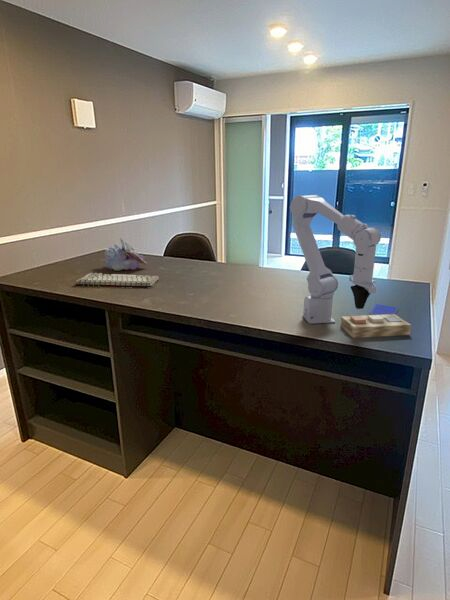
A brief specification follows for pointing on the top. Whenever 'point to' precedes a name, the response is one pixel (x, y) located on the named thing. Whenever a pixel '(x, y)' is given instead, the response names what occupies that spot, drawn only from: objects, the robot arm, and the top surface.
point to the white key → (375, 319)
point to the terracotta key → (358, 320)
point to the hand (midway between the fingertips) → (359, 308)
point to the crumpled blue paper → (122, 257)
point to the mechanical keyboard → (115, 281)
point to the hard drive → (383, 310)
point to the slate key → (392, 319)
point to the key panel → (376, 327)
